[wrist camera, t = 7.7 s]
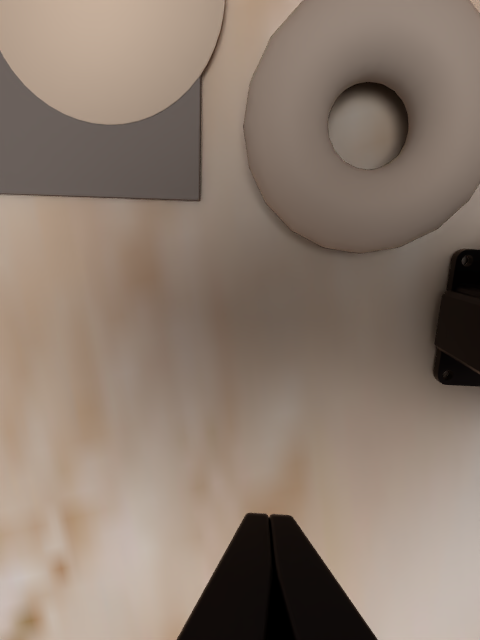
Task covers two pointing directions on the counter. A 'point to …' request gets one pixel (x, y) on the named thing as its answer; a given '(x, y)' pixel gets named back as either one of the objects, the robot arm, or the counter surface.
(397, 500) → the counter surface
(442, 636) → the counter surface
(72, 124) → the kitchen scale
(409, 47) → the donut
